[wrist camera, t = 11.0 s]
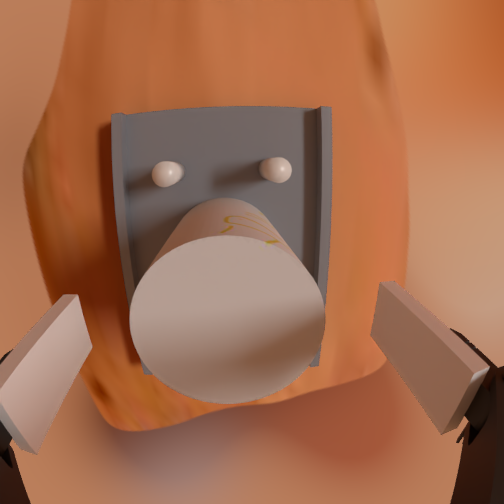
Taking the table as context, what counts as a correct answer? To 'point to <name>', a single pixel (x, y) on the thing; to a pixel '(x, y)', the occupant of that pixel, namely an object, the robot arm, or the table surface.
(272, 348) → the cup
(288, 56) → the table surface
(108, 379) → the table surface
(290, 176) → the tray
